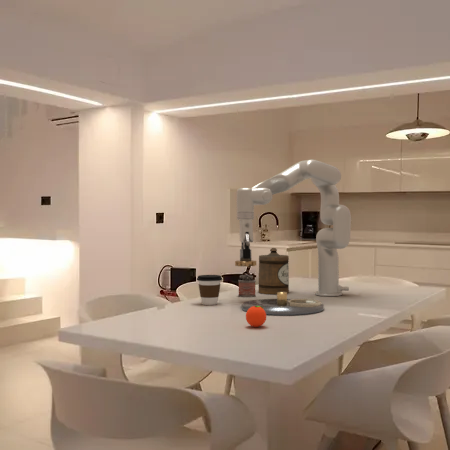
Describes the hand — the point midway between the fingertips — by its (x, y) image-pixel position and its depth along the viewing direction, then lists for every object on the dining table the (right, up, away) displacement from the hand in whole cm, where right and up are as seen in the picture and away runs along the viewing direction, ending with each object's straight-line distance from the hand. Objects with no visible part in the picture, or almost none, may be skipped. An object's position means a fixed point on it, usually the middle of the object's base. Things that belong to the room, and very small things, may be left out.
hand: (245, 257), depth 238 cm
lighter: (+1, -19, +16) cm, 25 cm away
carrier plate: (+14, -19, -18) cm, 30 cm away
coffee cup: (-16, -20, -5) cm, 26 cm away
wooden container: (+15, -19, +30) cm, 39 cm away
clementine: (+2, -20, -55) cm, 58 cm away
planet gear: (0, -3, 0) cm, 3 cm away
